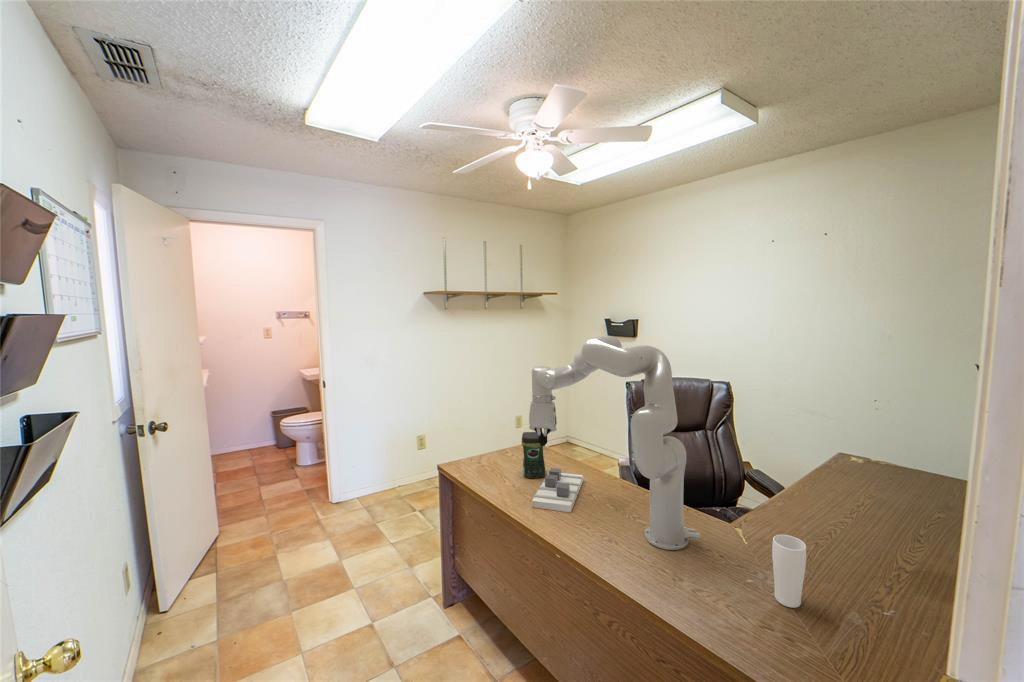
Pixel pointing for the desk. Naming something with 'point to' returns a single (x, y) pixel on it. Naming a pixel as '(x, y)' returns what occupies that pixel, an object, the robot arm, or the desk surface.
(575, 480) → the switch board
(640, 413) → the robot arm
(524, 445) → the coffee jar
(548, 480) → the tab
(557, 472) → the tab
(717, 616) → the desk surface
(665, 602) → the desk surface
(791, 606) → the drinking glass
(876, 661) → the desk surface
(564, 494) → the tab
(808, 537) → the desk surface
